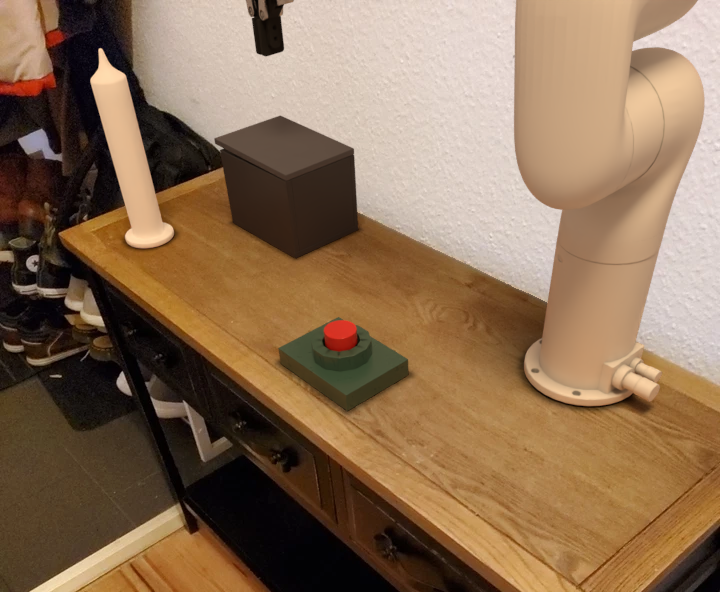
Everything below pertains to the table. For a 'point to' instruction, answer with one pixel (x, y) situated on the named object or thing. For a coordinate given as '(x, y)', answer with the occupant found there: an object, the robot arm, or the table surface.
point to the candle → (128, 157)
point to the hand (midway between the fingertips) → (270, 52)
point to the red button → (340, 335)
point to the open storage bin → (292, 203)
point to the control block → (344, 366)
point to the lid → (284, 147)
